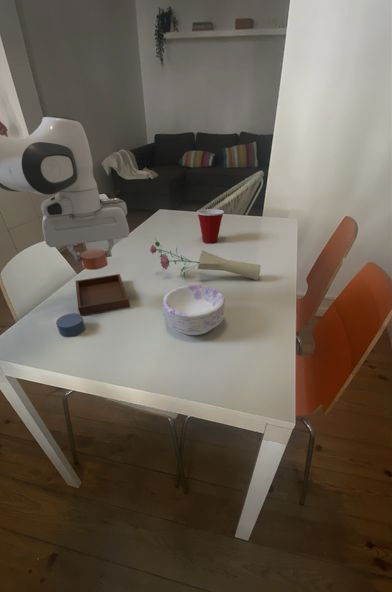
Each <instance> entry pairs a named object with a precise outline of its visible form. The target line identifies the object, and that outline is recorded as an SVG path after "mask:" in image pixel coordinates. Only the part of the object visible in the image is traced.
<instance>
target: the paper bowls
mask: <svg viewBox="0 0 392 592" xmlns="http://www.w3.org/2000/svg"><path fill="white" fill-rule="evenodd" d="M225 301H226V300H225V297H224V295H223V293H222V292H221V291H220V290H218V289H217V288H215V287H212V286H208V285H205V284H204V285H203V284H189V285H183V286H178V287H176V288H173V289H172V290H170V291H168V292H167V293H166V294H165V295H164V296H163V299H162V310H163V316H164V321H165V323H166V324H167V326H169V327H171V328H172V329H175V330H176V331H177V332H178V333H181V334H183V335H187V336H200V335H204V334H206V333H208V332H210V331H212V329H213V328H216V327H217V326H219V325H220V324H221V323H222V322H223V320H224V318H225Z"/></svg>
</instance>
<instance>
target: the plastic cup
mask: <svg viewBox="0 0 392 592" xmlns="http://www.w3.org/2000/svg"><path fill="white" fill-rule="evenodd" d="M196 214H197V216H198V220H199V226H200V233H201V237H202V241H203V243H204V244H209V245H210V244H212V245H213V244H216V243H217V242H218V239H219V234H220V229H221V224H222V219H223V217H224V214H225V211H224V210H222V209H216V208H208V209H207V208H205V209H199V210H197V211H196Z"/></svg>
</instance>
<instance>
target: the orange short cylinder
mask: <svg viewBox="0 0 392 592" xmlns="http://www.w3.org/2000/svg"><path fill="white" fill-rule="evenodd" d="M80 256H81V260H82V261H81V264H82V267H83V269H85V270H87V271H88V270H89V271H90V270H91V271H94V270H100V269H103V268H105V267H107V266H108V264H109V263H108V257H106V253H105V249H104V250H103V249H98V248H96V249H94V248H93V249H89V250H88V249H87V250H85V251H83V252H80Z"/></svg>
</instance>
